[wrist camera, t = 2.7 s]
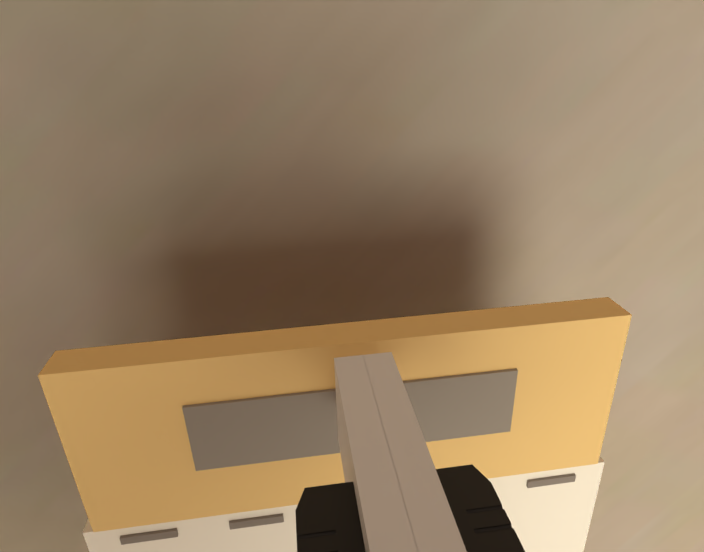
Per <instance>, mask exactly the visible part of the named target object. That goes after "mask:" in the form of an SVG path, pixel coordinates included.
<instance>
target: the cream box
mask: <svg viewBox="0 0 704 552" xmlns="http://www.w3.org/2000/svg"><path fill="white" fill-rule="evenodd" d="M603 466H604V461H603V459H602V458H601V457H600V456H599V461H598V464H592V465H585V466H577V467H570V468H563V469H555V470H548V471H541V472H533V473H526V474H519V475H511V476H504V477H497V478H489V479H488V480H489V481H490V482H491V483H492V485H493V487H494V489H495V491H496V493H497V495H498V497H499V499H500V502H501V504H502V508H503V509H504V510H505V512H506V514H507V516H508V518H509V520H510V522H511V526H512V528H514V530H515V532H516V534H517V536H518V538H519V540H520V542H521V544H522V546H523V548H524V550H525V552H583V551H584V547H585V543H586V539H587V534H588V530H589V526H590V522H591V517H592V513H593V509H594V505H595V500H596V496H597V492H598V488H599V483H600V479H601V475H602V471H603ZM296 508H297V505H291V506H283V507H276V508H269V509H261V510H254V511H247V512H239V513H232V514H225V515H217V516H210V517H202V518H195V519H188V520H180V521H173V522H166V523H158V524H151V525H144V526H136V527H129V528H122V529H114V530H107V531H100V532H93V530H92V527H91V524H90V521H89V519H88V520H87V523H86V525H85V528H84V530H83V536H84V539H85V541H86V544H87V547H88V550H89V552H297V536H296V512H295V510H296Z"/></svg>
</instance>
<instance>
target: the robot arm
mask: <svg viewBox="0 0 704 552" xmlns="http://www.w3.org/2000/svg"><path fill="white" fill-rule="evenodd" d="M334 369H335V387H336V405H337V423H338V441H339V447H340V453H341V459H342V466H343V472H344V478H345V483H338V484H330V485H323V486H315V487H307V488H304V491H303V493H302V496H301V498H300V501H299V503H298V505H297V508H296V510H295V512H296V536H297V552H525V550H524V548H523V546H522V544H521V542H520V540H519V538H518V536H517V534H516V532H515V530H514V528H512V526H511V522H510V520H509V518H508V516H507V514H506V512H505V510H504V509H503V508H502V504H501V502H500V499H499V497H498V495H497V493H496V491H495V489H494V487H493V485H492V483H491V482H490V481H489V480H488V479H487V478H486V477H485V476H484V475H483V474H482V473H481V472H480V471H479V470H478V469H476V468H475V467H474V466H473V465H472V464H471V465H464V466H456V467H448V468H441V469H435V466H434V463H433V461H432V458H431V455H430V453H429V450H428V447H427V445H426V442H425V439H424V437H423V434H422V431H421V429H420V426H419V423H418V421H417V418H416V415H415V413H414V410H413V408H412V405H411V402H410V400H409V397H408V394H407V392H406V389H405V386H404V384H403V381H402V378H401V376H400V373H399V370H398V368H397V365H396V362H395V360H394V357H393V354H392V352H386V353H376V354H367V355H357V356H348V357H338V358H334Z"/></svg>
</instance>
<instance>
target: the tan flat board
mask: <svg viewBox="0 0 704 552" xmlns="http://www.w3.org/2000/svg"><path fill="white" fill-rule="evenodd" d="M631 316H632V315H631V314H630V313H629V312H627V311H626V310H625V309H623V308H622V307H621V306H619V305H618V304H617V303H615V302H614V301H613V300H611V299H610V298H609V297H605V298H594V299H584V300H574V301H563V302H553V303H543V304H533V305H522V306H512V307H502V308H491V309H481V310H471V311H461V312H450V313H440V314H430V315H419V316H409V317H399V318H388V319H378V320H368V321H358V322H347V323H337V324H327V325H316V326H306V327H296V328H286V329H275V330H265V331H255V332H244V333H234V334H224V335H214V336H203V337H193V338H183V339H172V340H162V341H152V342H142V343H131V344H121V345H111V346H100V347H90V348H80V349H70V350H59V351H55V352H54V354H53V355H52V356H51V358H50V359H49V361H48V362H47V363H46V365H45V366H44V368H43V369H42V370H41V372H40V373H39V375H38V377H39V380H40V383H41V386H42V389H43V392H44V394H45V397H46V400H47V403H48V406H49V408H50V411H51V414H52V417H53V420H54V423H55V425H56V428H57V431H58V434H59V437H60V440H61V442H62V445H63V448H64V451H65V454H66V457H67V459H68V462H69V465H70V468H71V471H72V473H73V476H74V479H75V482H76V485H77V488H78V490H79V493H80V496H81V499H82V502H83V505H84V507H85V510H86V513H87V516H88V519H89V521H90V524H91V527H92V530H93V532H100V531H107V530H114V529H122V528H129V527H136V526H144V525H151V524H158V523H166V522H173V521H180V520H188V519H195V518H202V517H210V516H217V515H225V514H232V513H239V512H247V511H254V510H261V509H269V508H276V507H283V506H291V505H298V503H299V501H300V498H301V496H302V493H303V491H304V488H307V487H315V486H323V485H330V484H338V483H345V478H344V472H343V466H342V459H341V453H340V447H339V441H338V423H337V405H336V387H335V369H334V358H338V357H348V356H357V355H367V354H376V353H386V352H392V354H393V357H394V360H395V362H396V365H397V368H398V370H399V373H400V376H401V378H402V381H403V384H404V386H405V389H406V392H407V394H408V397H409V400H410V402H411V405H412V408H413V410H414V413H415V415H416V418H417V421H418V423H419V426H420V429H421V431H422V434H423V437H424V439H425V442H426V445H427V447H428V450H429V453H430V455H431V458H432V461H433V463H434V466H435V469H441V468H448V467H456V466H464V465H471V464H472V465H473V466H474V467H475V468H476V469H478V470H479V471H480V472H481V473H482V474H483V475H484V476H485V477H486V478H487V479H489V478H497V477H504V476H511V475H519V474H526V473H533V472H541V471H548V470H555V469H563V468H570V467H577V466H585V465H592V464H598V461H599V456H600V452H601V448H602V443H603V439H604V434H605V430H606V426H607V421H608V417H609V413H610V408H611V404H612V399H613V395H614V391H615V386H616V382H617V378H618V373H619V369H620V364H621V360H622V356H623V351H624V347H625V343H626V338H627V334H628V329H629V325H630V321H631Z"/></svg>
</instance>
